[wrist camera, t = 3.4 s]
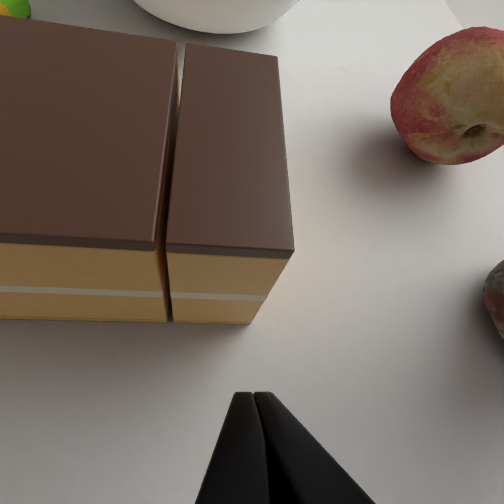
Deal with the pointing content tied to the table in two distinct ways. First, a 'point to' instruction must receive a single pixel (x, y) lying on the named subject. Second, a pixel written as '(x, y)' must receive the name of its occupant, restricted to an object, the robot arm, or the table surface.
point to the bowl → (218, 13)
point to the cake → (85, 172)
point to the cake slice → (227, 188)
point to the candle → (495, 296)
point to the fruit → (454, 98)
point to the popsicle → (15, 8)
